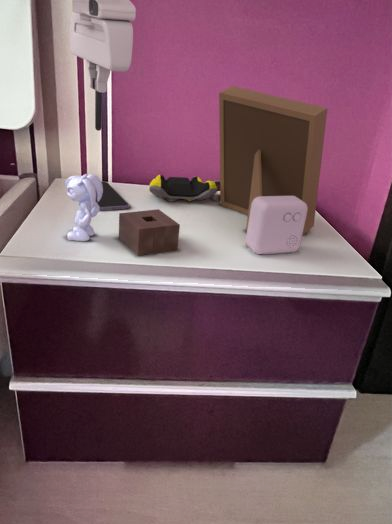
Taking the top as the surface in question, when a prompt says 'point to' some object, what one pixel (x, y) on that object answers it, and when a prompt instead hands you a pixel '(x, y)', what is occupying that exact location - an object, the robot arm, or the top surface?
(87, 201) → the toy figurine
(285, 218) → the electronic device
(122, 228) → the pen block
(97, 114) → the stylus
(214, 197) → the wristwatch
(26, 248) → the top surface
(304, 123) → the photo frame
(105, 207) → the smartphone
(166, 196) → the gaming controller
